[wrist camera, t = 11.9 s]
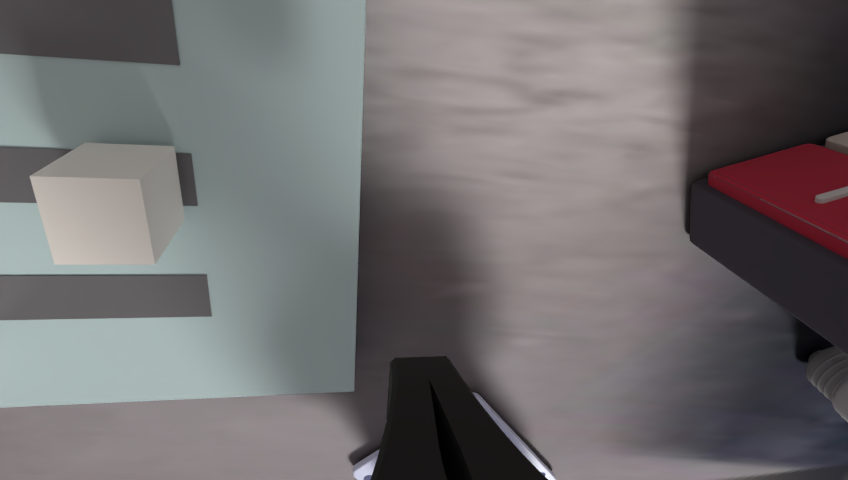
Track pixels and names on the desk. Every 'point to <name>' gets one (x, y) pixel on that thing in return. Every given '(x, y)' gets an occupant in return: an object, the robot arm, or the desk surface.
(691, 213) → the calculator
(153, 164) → the tab
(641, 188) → the desk surface
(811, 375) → the lightbulb
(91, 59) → the switch board
